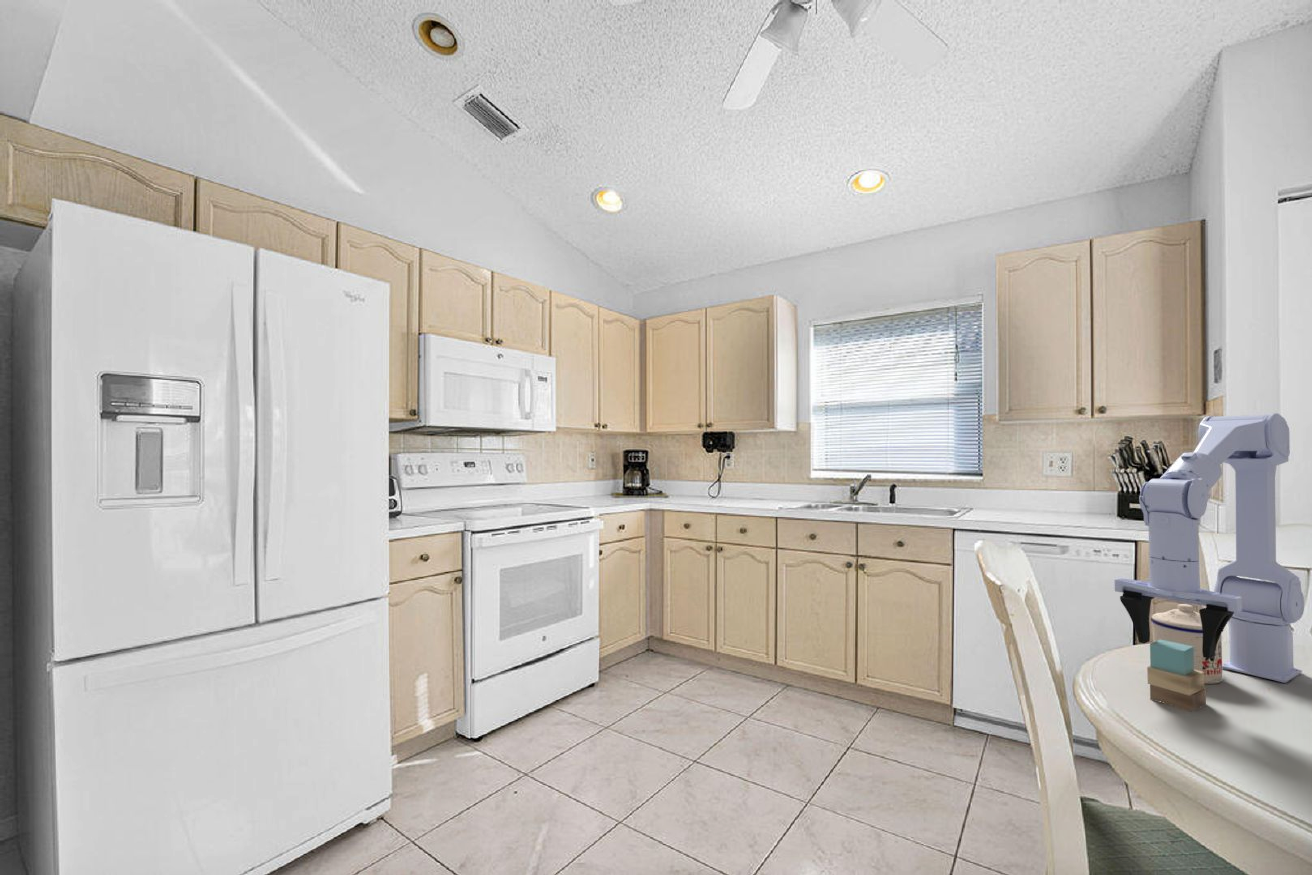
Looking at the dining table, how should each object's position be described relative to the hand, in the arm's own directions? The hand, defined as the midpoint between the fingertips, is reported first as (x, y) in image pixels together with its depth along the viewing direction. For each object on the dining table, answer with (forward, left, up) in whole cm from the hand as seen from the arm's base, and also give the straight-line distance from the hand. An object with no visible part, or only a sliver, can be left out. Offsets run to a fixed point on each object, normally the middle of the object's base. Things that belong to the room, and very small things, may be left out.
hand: (1175, 649), depth 89 cm
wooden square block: (0, 0, -8) cm, 8 cm away
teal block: (0, 0, -3) cm, 3 cm away
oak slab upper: (0, 0, -6) cm, 6 cm away
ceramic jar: (-16, -4, -8) cm, 19 cm away
